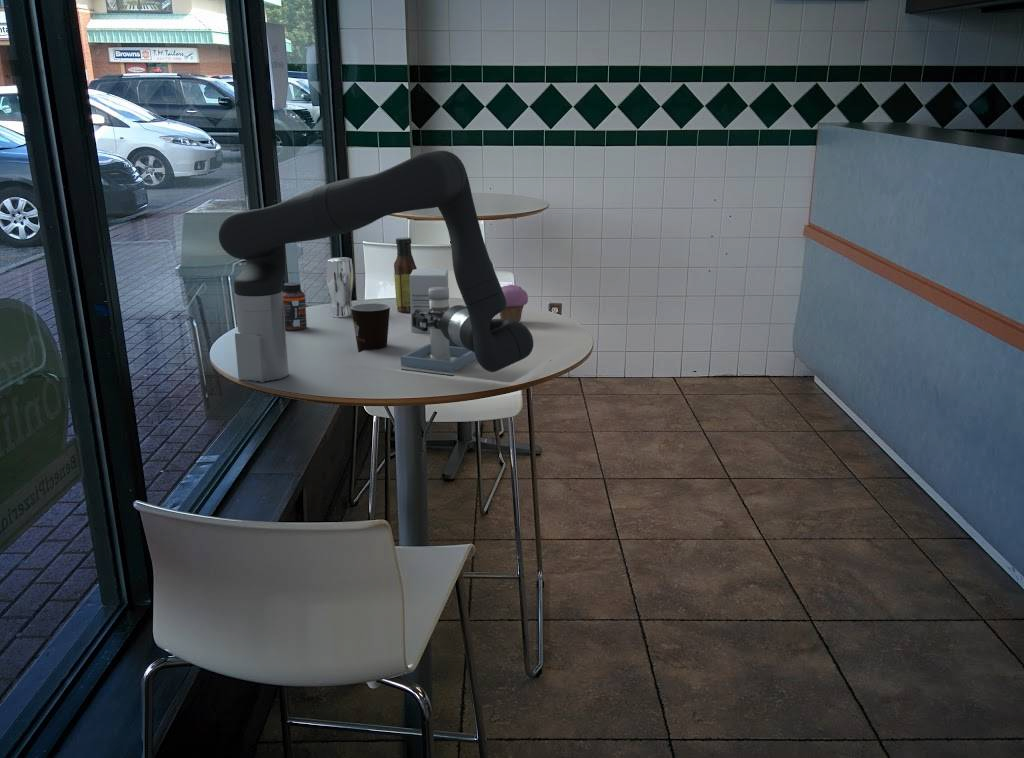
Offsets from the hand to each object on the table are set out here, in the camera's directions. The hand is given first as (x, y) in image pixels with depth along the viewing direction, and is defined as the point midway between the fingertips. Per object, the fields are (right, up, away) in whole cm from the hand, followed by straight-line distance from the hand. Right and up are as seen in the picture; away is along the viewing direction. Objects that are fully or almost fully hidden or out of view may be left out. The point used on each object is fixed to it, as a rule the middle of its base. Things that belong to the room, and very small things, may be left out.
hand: (435, 312), depth 187 cm
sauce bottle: (-13, +4, +56) cm, 58 cm away
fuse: (+1, -11, +1) cm, 11 cm away
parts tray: (+1, -11, +1) cm, 11 cm away
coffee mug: (-16, -7, +16) cm, 23 cm away
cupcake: (+16, 0, +41) cm, 44 cm away
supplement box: (-4, -3, +32) cm, 32 cm away
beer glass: (-29, +3, +51) cm, 59 cm away
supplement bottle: (-38, -2, +36) cm, 52 cm away
